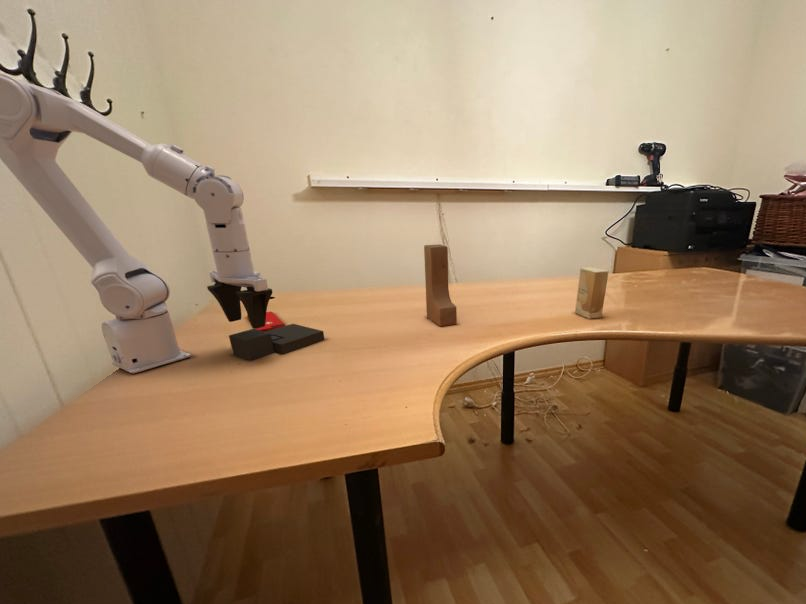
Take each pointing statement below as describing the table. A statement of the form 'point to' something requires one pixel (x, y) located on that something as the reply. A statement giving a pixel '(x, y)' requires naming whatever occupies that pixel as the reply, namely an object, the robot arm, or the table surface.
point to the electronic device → (271, 322)
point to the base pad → (294, 337)
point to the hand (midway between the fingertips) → (246, 323)
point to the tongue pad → (252, 344)
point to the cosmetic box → (591, 292)
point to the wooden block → (438, 286)
